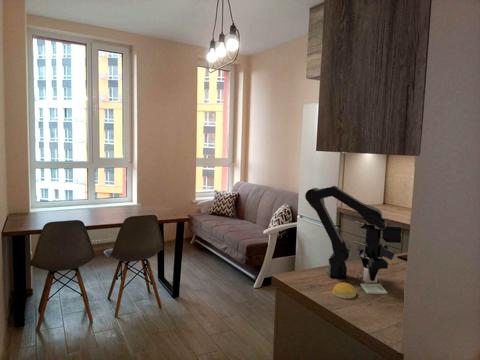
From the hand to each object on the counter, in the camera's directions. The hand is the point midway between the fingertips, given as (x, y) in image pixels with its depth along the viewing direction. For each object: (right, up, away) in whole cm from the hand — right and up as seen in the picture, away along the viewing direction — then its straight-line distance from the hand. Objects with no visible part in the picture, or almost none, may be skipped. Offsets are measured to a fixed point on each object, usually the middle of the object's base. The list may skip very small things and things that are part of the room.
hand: (370, 278), depth 143 cm
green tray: (-2, -3, -8) cm, 8 cm away
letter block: (0, -1, 0) cm, 1 cm away
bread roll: (-14, -3, -12) cm, 19 cm away
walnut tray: (0, -2, 0) cm, 2 cm away
